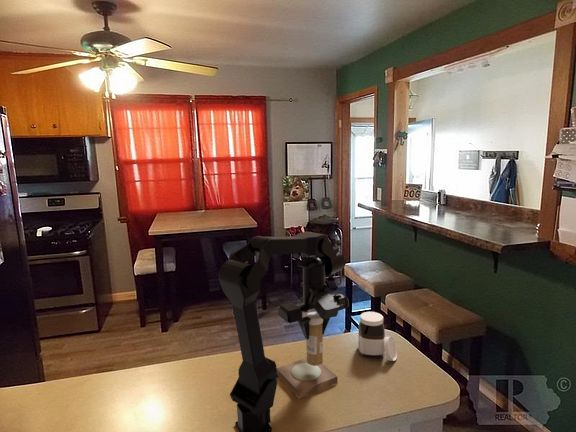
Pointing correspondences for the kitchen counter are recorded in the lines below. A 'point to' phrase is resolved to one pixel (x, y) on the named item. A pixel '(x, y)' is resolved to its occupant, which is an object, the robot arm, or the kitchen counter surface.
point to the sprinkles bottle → (315, 340)
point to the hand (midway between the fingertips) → (314, 336)
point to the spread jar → (375, 337)
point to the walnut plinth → (306, 377)
